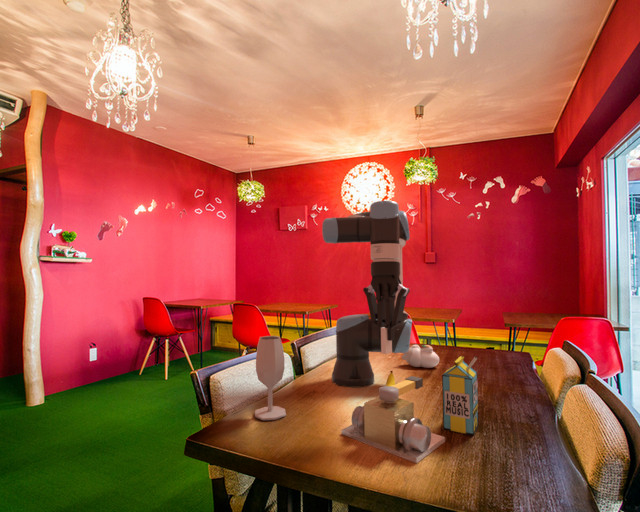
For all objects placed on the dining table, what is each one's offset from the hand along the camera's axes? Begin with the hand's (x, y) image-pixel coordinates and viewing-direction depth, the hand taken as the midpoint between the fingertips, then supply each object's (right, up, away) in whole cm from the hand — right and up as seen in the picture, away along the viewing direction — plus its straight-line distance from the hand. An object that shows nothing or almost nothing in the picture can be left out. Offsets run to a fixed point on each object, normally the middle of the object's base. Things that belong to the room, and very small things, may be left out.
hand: (386, 352), depth 95 cm
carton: (+18, -18, -3) cm, 26 cm away
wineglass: (-31, -19, +6) cm, 37 cm away
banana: (+4, -19, +18) cm, 26 cm away
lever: (+2, -8, -6) cm, 10 cm away
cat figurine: (+24, -21, +56) cm, 65 cm away
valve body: (0, -18, -8) cm, 20 cm away
